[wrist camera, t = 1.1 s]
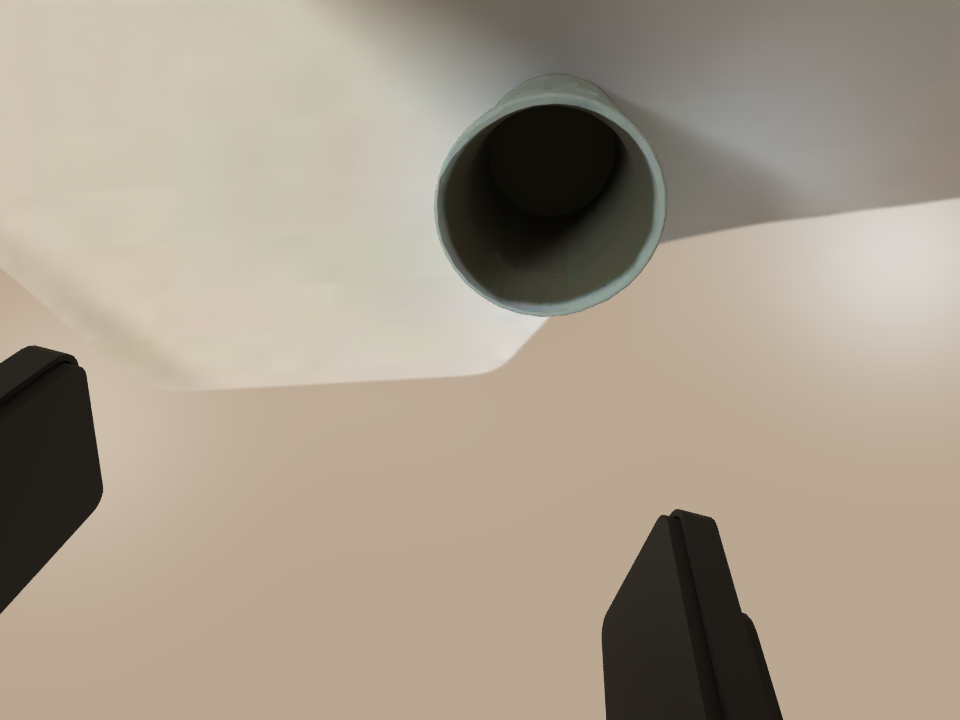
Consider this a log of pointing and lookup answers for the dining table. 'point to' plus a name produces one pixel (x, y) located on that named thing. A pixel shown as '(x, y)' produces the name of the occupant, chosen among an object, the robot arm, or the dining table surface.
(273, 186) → the dining table surface
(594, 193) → the green cup
